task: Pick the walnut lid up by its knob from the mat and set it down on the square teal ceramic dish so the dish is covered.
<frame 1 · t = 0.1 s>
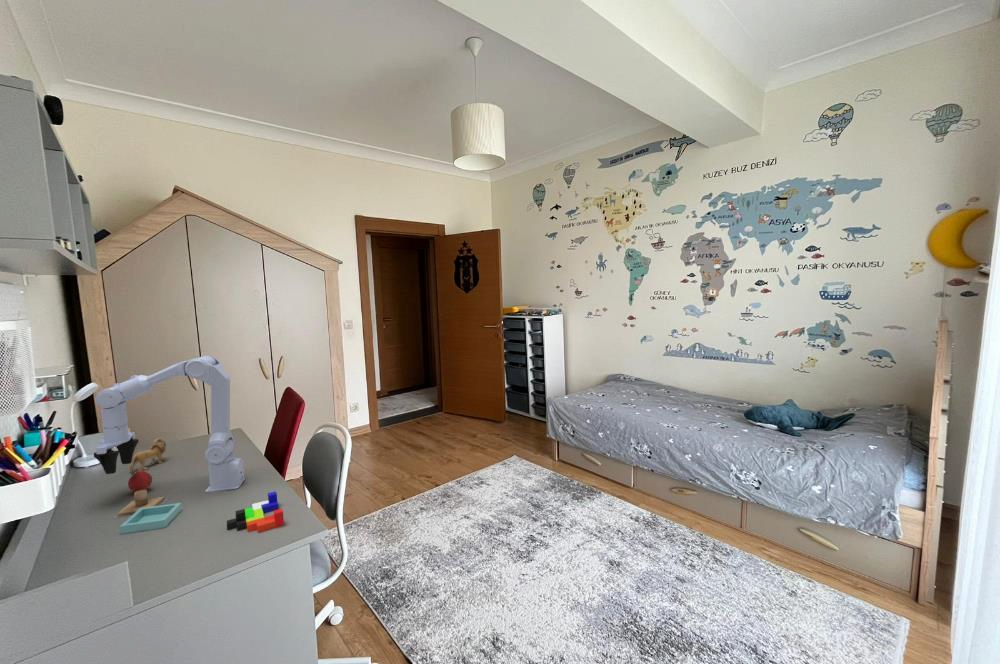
hand: (119, 468, 127), 10 cm above the table, tool pointing down, fingers open, 7 cm apart
lion figurine: (149, 466, 154), on the table
pomegranate: (141, 493, 132), on the table
mat: (141, 509, 122), on the table
building blocks: (254, 522, 115), on the table
dish: (152, 522, 114), on the table
lid: (141, 507, 122), resting on mat
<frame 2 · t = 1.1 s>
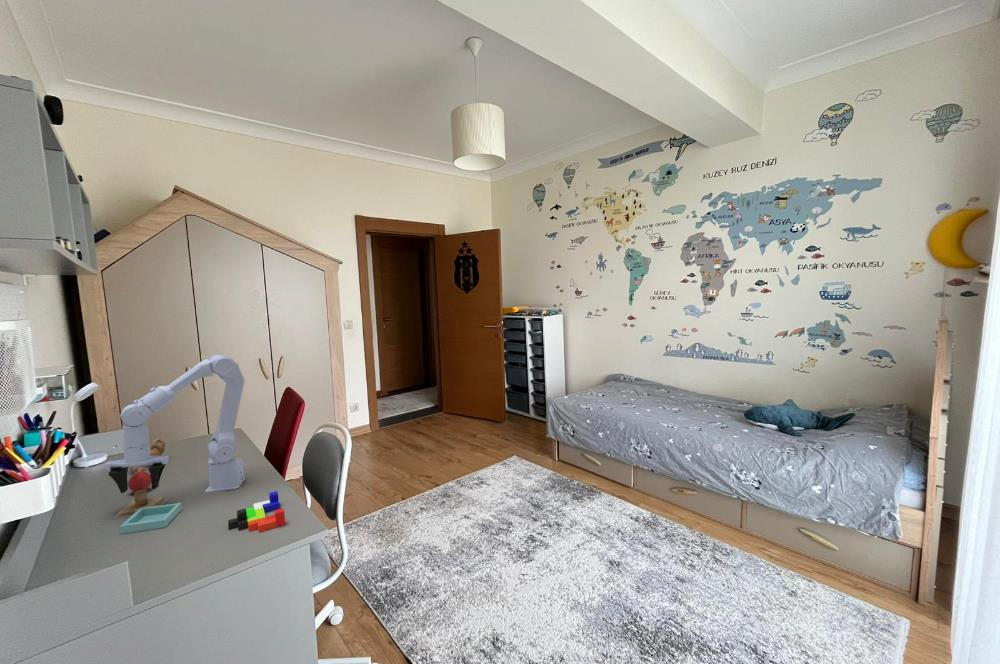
hand: (140, 489, 121), 6 cm above the table, tool pointing down, fingers open, 7 cm apart
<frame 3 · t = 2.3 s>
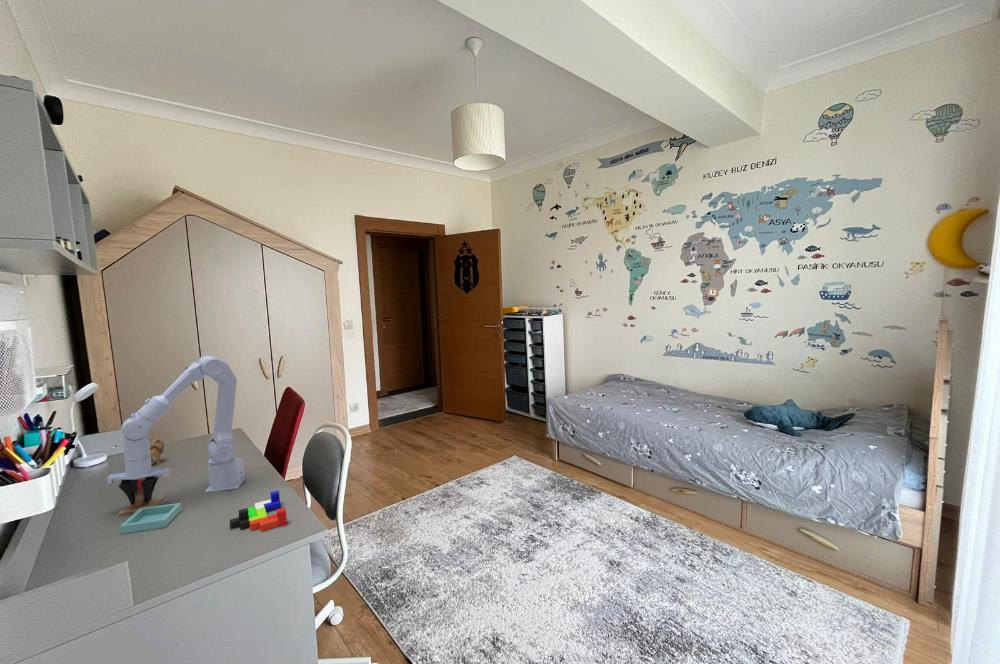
hand: (141, 502, 122), 2 cm above the table, tool pointing down, fingers closed on lid, 3 cm apart
lid: (141, 507, 122), resting on mat, touching gripper
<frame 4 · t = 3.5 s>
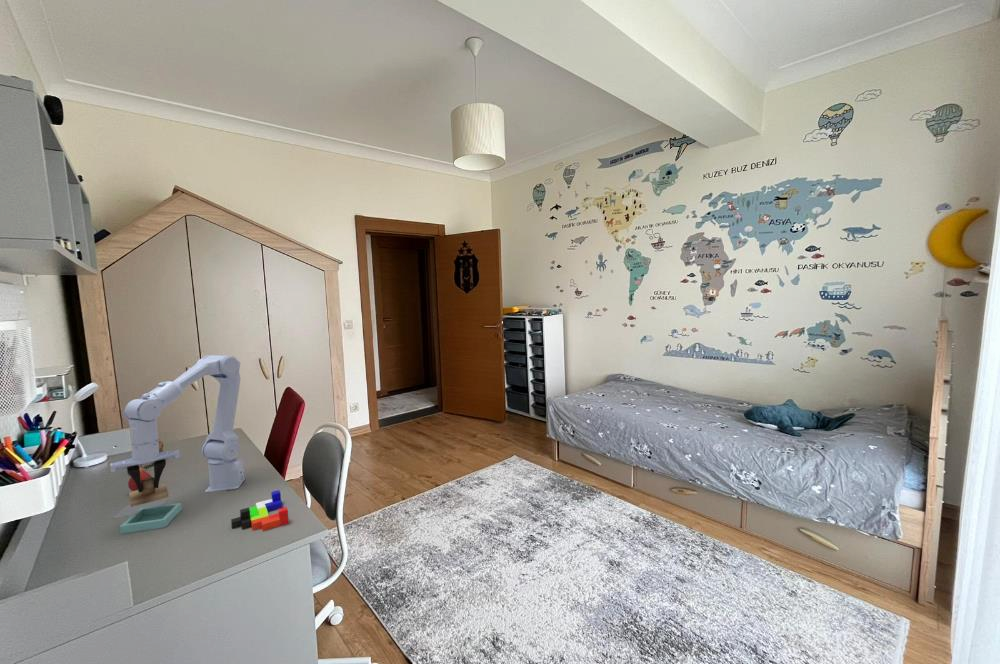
hand: (148, 489, 115), 9 cm above the table, tool pointing down, fingers closed on lid, 3 cm apart
lid: (148, 496, 115), point 7 cm above the table, touching gripper
when the fingers open (5 cm above the table, at t = 4.6 s): lid stays where it is, resting on dish.
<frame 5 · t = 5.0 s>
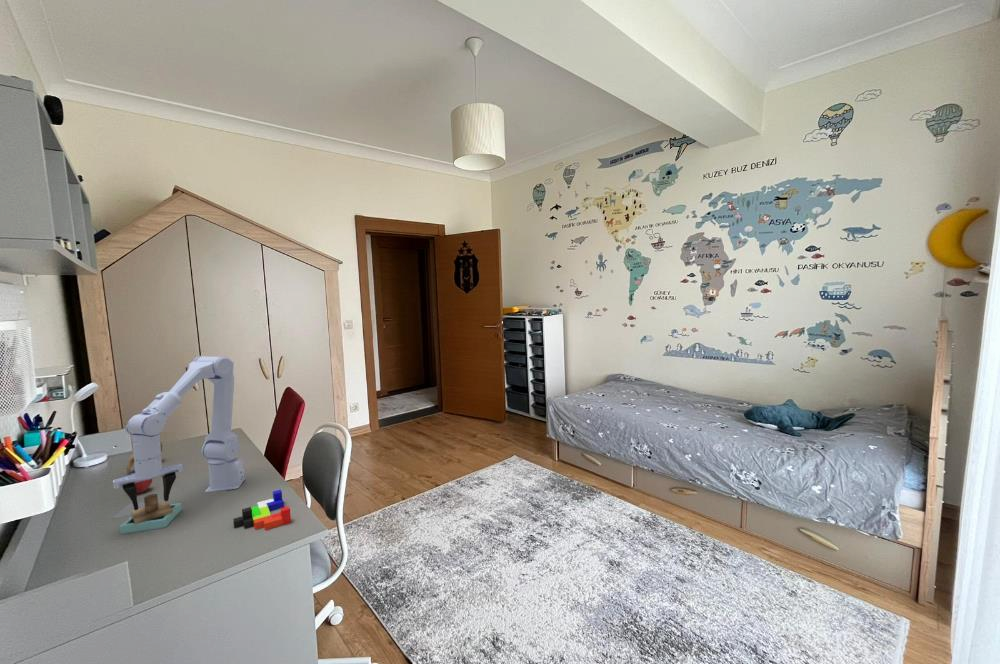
hand: (151, 504, 114), 5 cm above the table, tool pointing down, fingers open, 6 cm apart
lid: (152, 513, 114), point 2 cm above the table, touching dish
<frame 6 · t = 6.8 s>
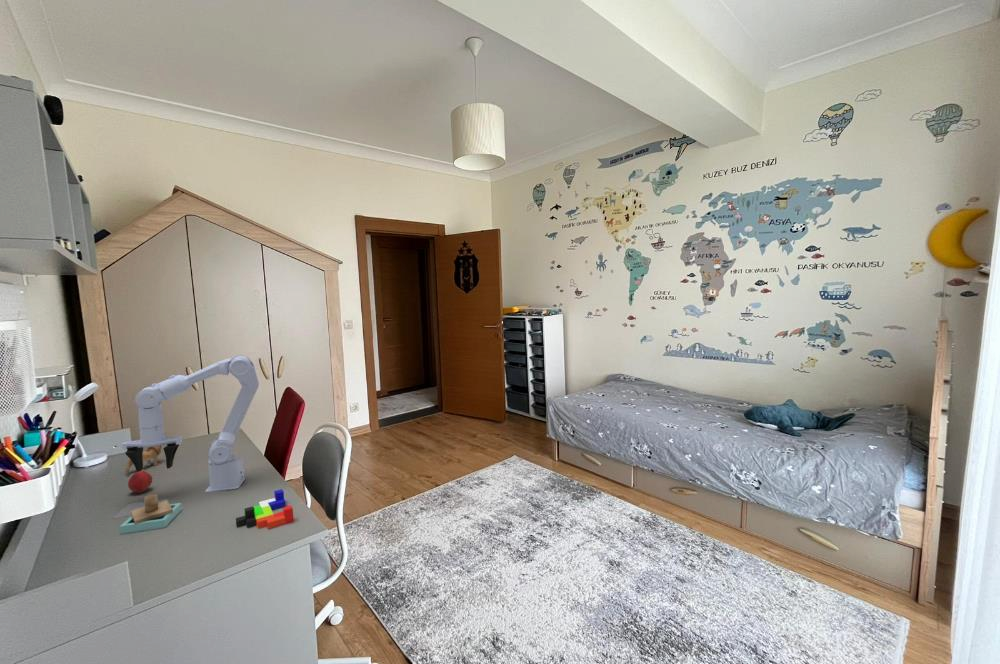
hand: (155, 468, 127), 10 cm above the table, tool pointing down, fingers open, 7 cm apart
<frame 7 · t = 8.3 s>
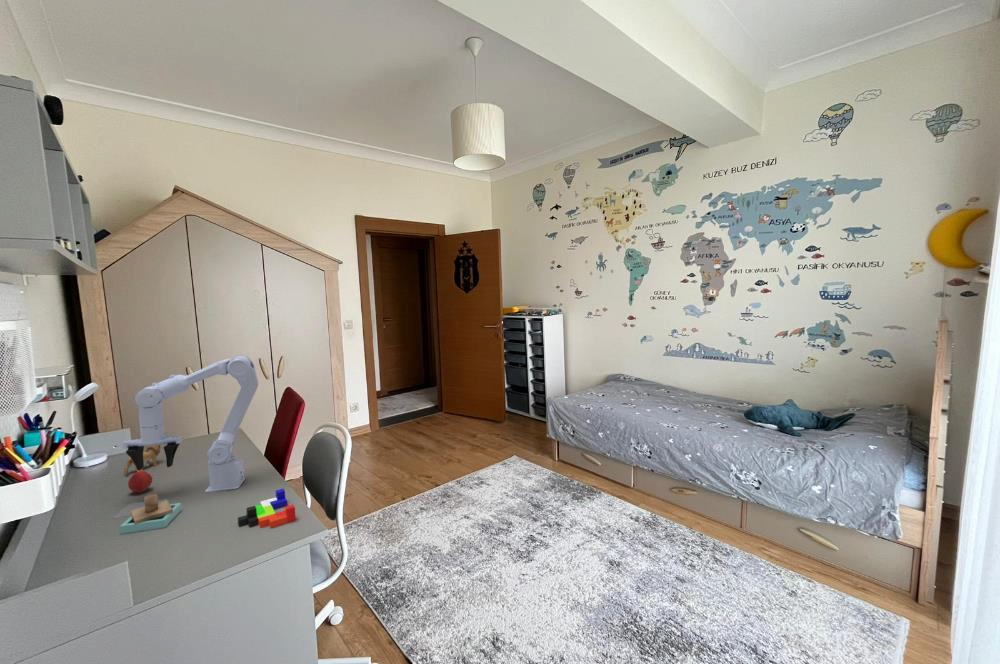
hand: (155, 467, 128), 10 cm above the table, tool pointing down, fingers open, 7 cm apart
at the end: lid 0.4 cm off-centre on the dish, point 2.5 cm above the dish's base; lid tilted 0°; the gripper is holding nothing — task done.
